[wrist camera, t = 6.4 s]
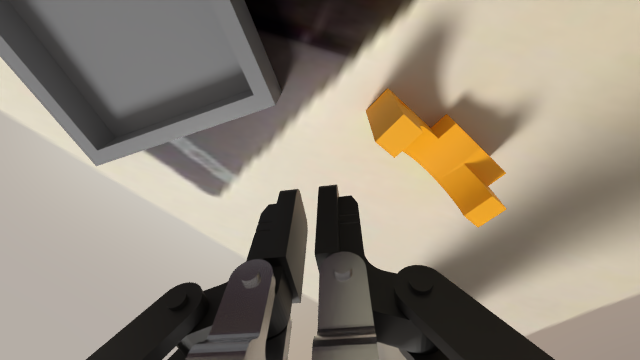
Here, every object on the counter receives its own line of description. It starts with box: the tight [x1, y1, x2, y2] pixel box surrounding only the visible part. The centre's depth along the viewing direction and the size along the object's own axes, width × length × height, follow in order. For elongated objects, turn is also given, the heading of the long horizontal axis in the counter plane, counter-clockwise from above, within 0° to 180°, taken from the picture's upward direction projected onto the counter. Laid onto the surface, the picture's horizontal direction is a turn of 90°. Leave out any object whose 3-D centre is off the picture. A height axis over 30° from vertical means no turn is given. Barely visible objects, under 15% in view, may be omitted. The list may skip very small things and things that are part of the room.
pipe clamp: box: [366, 88, 506, 227], centre depth 24 cm, size 12×4×6 cm, turn 50°
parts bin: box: [0, 0, 282, 166], centre depth 20 cm, size 17×17×4 cm
